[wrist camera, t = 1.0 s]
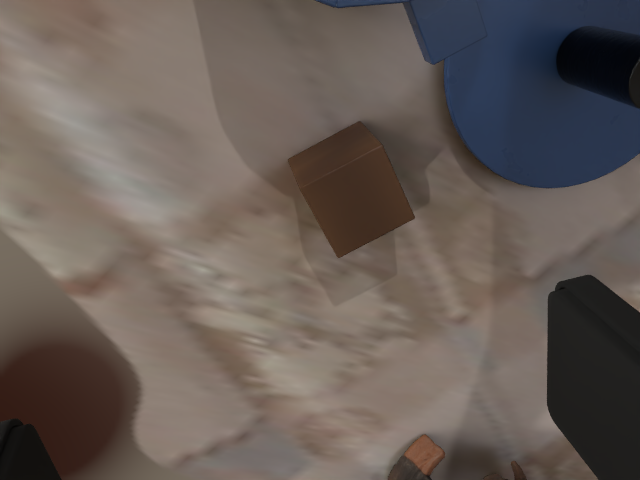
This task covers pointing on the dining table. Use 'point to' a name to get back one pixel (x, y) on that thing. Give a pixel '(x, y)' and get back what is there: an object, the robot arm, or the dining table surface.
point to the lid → (550, 89)
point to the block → (351, 188)
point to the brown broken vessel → (431, 462)
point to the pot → (435, 23)
